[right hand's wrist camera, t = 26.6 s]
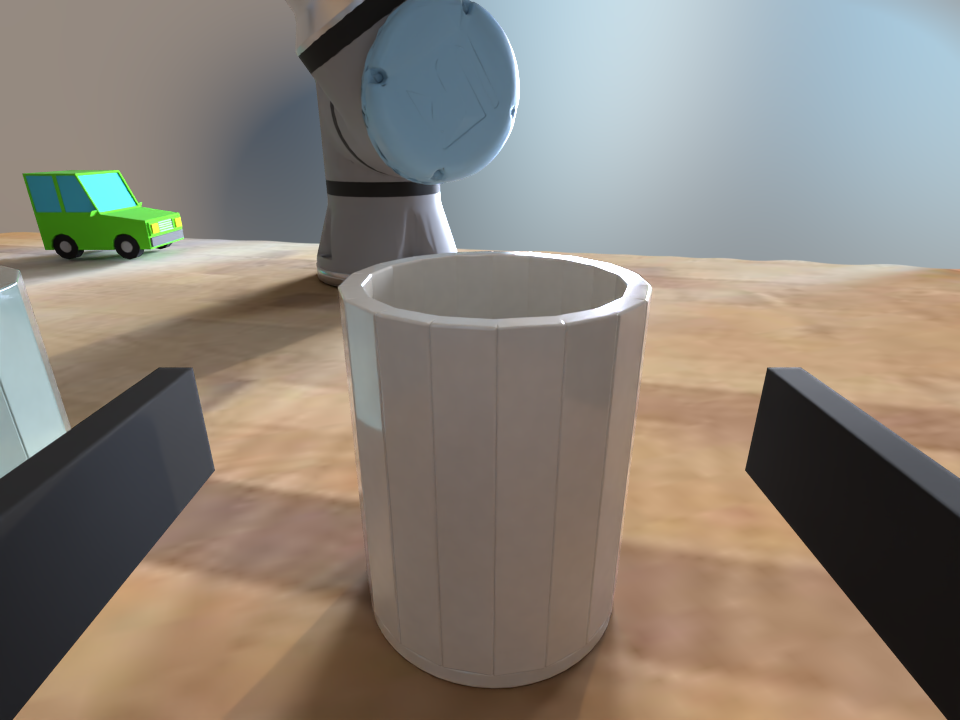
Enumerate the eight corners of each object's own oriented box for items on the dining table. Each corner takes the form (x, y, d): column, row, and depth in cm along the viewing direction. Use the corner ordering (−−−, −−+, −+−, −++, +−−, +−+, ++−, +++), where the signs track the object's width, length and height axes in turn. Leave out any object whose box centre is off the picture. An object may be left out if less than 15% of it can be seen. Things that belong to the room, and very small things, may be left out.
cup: (455, 482, 23) (450, 243, 19) (643, 548, 19) (683, 267, 15) (316, 610, 17) (267, 292, 13) (556, 747, 13) (587, 354, 9)
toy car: (151, 261, 65) (131, 174, 61) (41, 261, 65) (15, 174, 61) (193, 246, 75) (177, 169, 71) (97, 246, 75) (77, 169, 71)
